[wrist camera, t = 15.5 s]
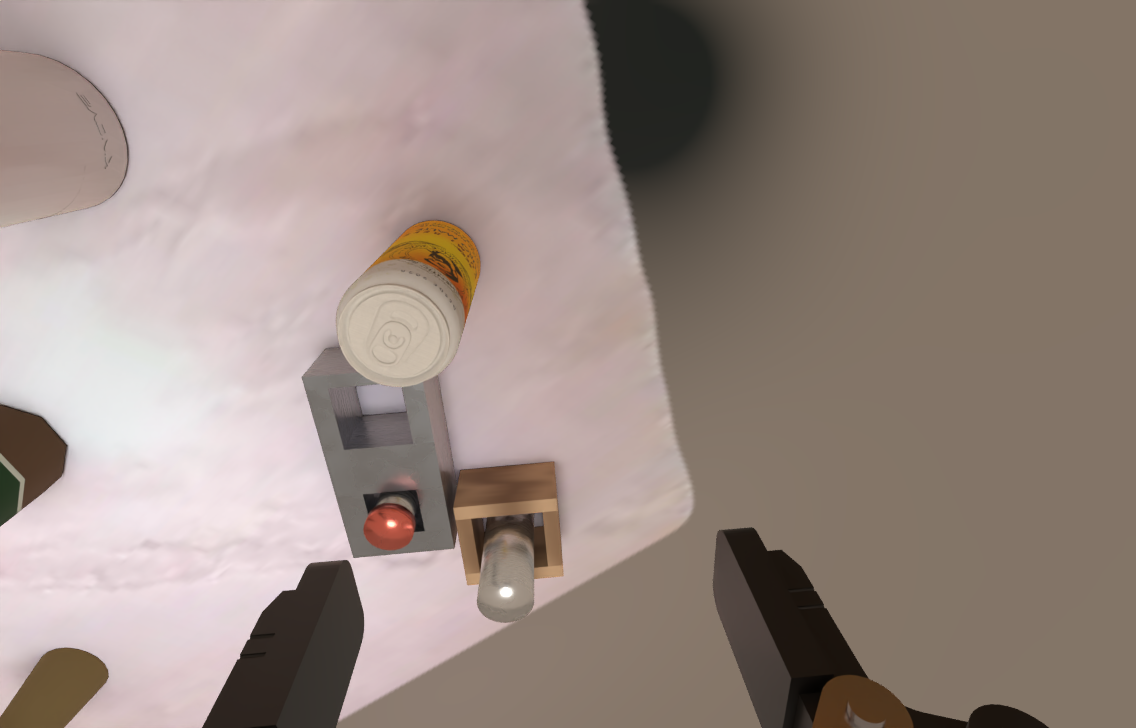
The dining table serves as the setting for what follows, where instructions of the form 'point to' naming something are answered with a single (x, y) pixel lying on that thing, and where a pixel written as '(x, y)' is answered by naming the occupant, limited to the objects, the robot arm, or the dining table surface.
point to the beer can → (410, 306)
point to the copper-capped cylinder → (392, 520)
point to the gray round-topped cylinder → (507, 568)
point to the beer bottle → (26, 460)
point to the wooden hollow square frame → (508, 512)
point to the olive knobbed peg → (55, 690)
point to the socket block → (384, 454)
